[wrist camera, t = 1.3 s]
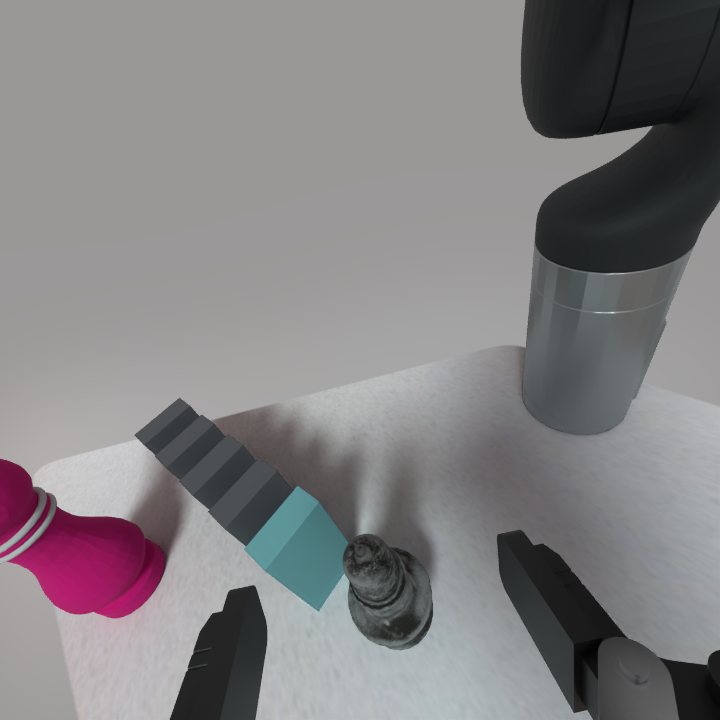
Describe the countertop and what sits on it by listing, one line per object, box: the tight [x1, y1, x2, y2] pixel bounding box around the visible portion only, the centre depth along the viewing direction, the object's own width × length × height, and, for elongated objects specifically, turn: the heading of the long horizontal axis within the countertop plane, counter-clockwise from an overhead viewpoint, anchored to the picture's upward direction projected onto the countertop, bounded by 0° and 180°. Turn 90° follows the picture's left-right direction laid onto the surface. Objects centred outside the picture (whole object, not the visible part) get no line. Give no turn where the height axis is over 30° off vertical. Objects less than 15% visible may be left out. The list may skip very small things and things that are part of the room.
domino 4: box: [208, 458, 293, 546], centre depth 29 cm, size 2×5×10 cm, turn 142°
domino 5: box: [244, 486, 349, 611], centre depth 27 cm, size 2×5×10 cm, turn 142°
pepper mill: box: [0, 459, 165, 618], centre depth 27 cm, size 7×7×20 cm
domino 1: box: [135, 398, 200, 455], centre depth 37 cm, size 2×5×10 cm, turn 142°
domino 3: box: [179, 434, 256, 510], centre depth 32 cm, size 2×5×10 cm, turn 142°
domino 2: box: [155, 415, 225, 480], centre depth 34 cm, size 2×5×10 cm, turn 142°
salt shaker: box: [343, 534, 433, 650], centre depth 23 cm, size 6×6×12 cm
